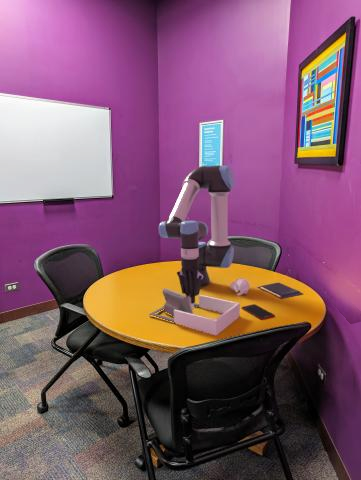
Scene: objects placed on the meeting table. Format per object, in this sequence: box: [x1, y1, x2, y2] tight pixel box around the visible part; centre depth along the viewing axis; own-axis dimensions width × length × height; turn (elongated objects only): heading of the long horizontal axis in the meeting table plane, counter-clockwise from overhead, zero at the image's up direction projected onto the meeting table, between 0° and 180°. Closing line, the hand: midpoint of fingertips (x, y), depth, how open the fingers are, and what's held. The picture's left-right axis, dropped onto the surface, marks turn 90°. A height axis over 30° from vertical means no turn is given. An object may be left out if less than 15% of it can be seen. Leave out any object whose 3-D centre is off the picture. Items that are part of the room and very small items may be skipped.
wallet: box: [256, 281, 304, 300], centre depth 178 cm, size 20×2×15 cm
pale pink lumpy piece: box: [230, 277, 251, 297], centre depth 176 cm, size 6×8×12 cm
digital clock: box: [161, 288, 194, 317], centre depth 152 cm, size 16×9×11 cm, turn 29°
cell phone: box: [241, 303, 276, 321], centre depth 152 cm, size 8×15×1 cm, turn 25°
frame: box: [148, 302, 199, 322], centre depth 156 cm, size 13×21×1 cm, turn 145°
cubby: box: [173, 294, 241, 336], centre depth 146 cm, size 20×21×6 cm
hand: (190, 309), depth 150 cm, fingers closed
